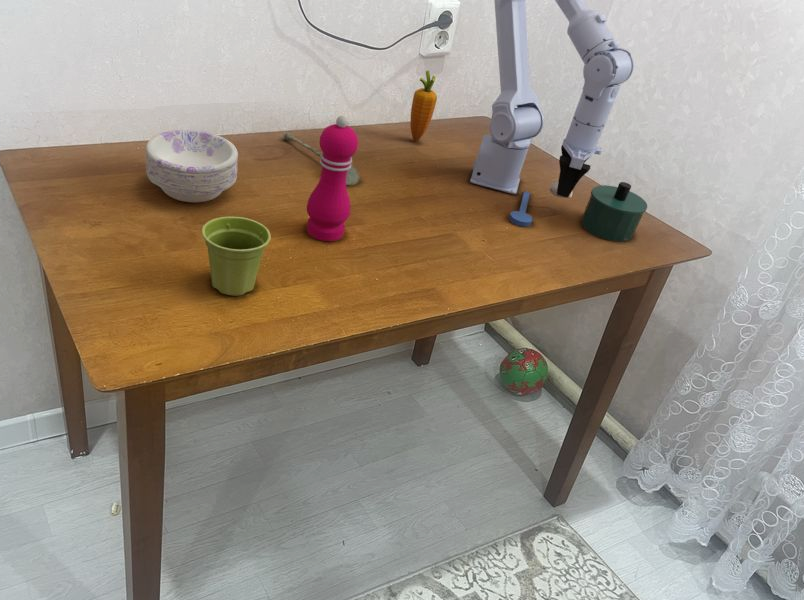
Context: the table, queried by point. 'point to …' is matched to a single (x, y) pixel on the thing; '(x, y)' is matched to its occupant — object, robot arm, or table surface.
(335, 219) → the pepper mill
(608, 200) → the saucepan lid
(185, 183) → the paper bowls
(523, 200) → the blue spoon
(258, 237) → the plant pot
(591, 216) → the saucepan
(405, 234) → the table surface
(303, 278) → the table surface
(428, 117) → the carrot
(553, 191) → the cream teardrop shape
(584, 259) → the table surface
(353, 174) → the soupspoon
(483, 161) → the robot arm
